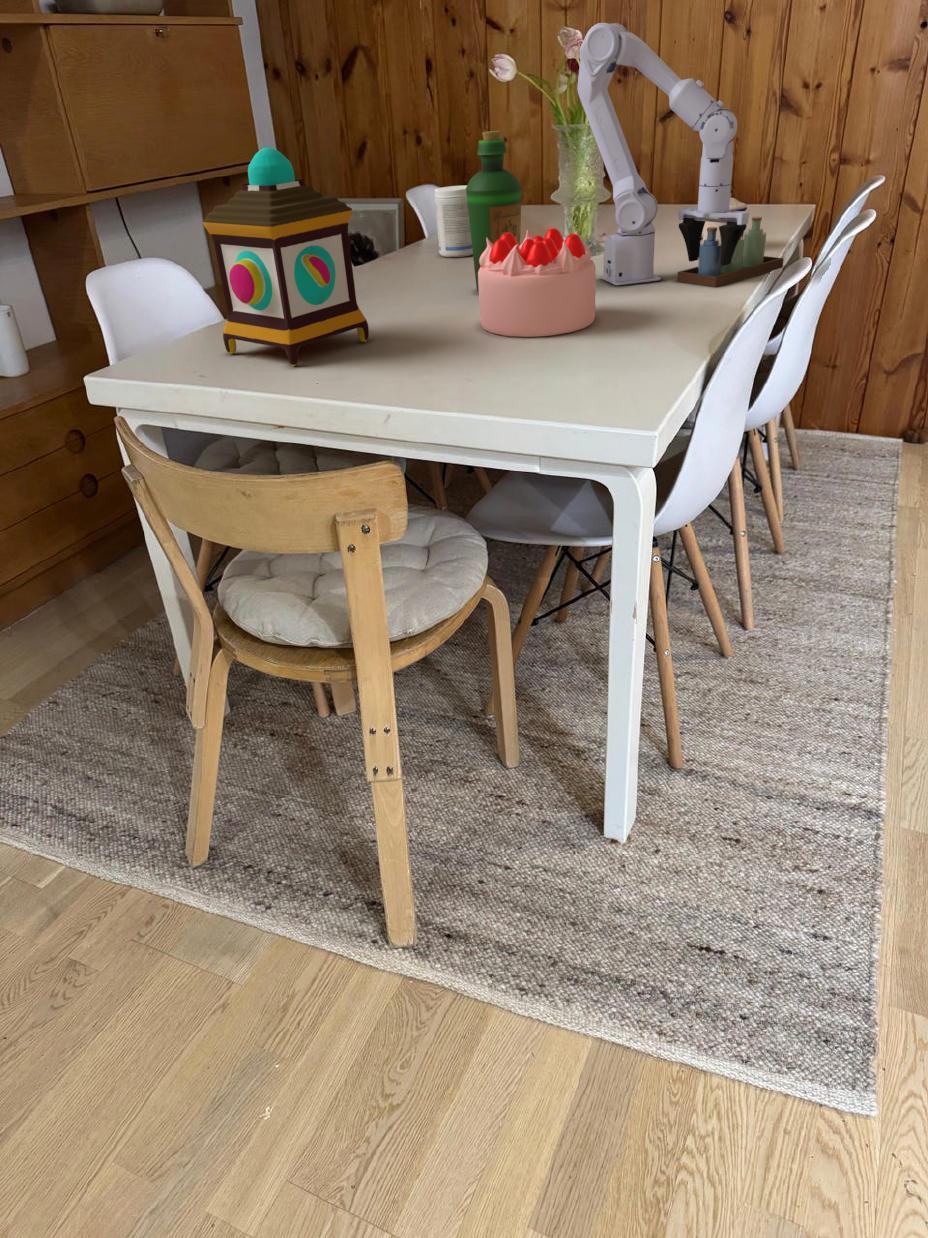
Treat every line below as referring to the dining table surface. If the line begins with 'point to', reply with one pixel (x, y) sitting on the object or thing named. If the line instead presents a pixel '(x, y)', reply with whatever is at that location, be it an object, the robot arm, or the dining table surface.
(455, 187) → the supplement tub
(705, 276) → the tray
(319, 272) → the decorative lantern
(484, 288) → the cake
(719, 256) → the blue bottle
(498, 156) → the bottle
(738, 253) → the green bottle mid
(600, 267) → the dining table surface
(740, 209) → the cream enamel lidded pot
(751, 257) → the green bottle far
